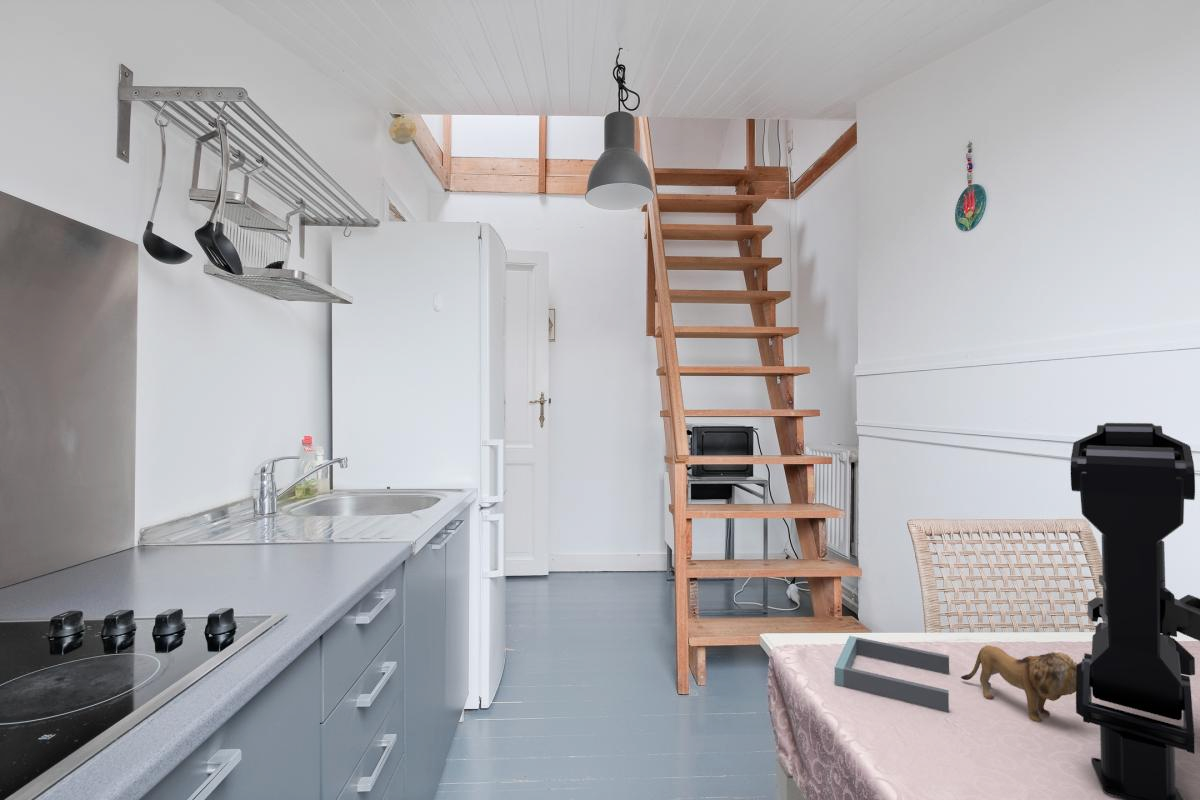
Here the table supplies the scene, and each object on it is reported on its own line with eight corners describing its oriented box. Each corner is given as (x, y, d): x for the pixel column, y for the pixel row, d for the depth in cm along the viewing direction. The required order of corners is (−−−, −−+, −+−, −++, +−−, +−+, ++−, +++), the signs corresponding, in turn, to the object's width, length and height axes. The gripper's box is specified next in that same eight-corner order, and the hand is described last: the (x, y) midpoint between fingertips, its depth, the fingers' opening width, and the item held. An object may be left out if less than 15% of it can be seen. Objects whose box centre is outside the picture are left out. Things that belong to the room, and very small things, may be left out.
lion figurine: (1091, 727, 71) (1089, 655, 71) (1069, 737, 68) (1067, 663, 69) (971, 678, 84) (970, 618, 84) (949, 685, 81) (948, 623, 82)
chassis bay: (948, 712, 74) (948, 693, 74) (834, 684, 82) (834, 667, 82) (949, 671, 86) (949, 655, 86) (849, 650, 93) (849, 635, 93)
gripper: (1262, 608, 58) (1267, 761, 57) (1196, 567, 73) (1199, 687, 73) (1118, 590, 64) (1121, 728, 63) (1085, 556, 79) (1088, 666, 79)
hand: (1135, 700), depth 69 cm, fingers closed
